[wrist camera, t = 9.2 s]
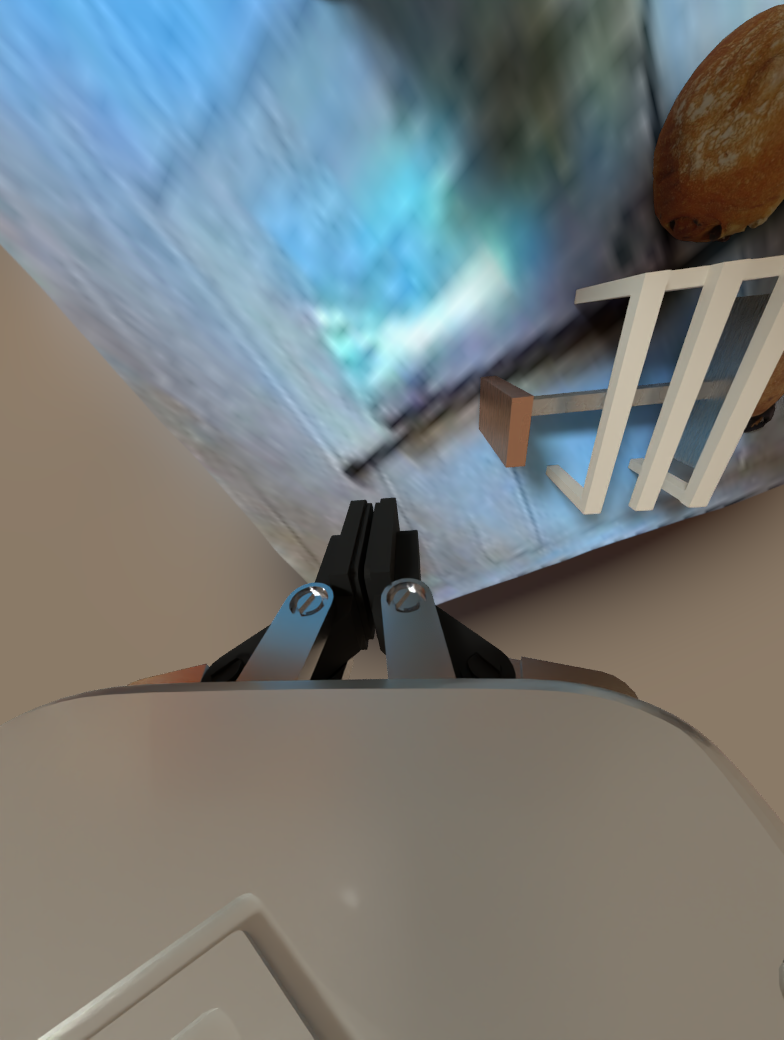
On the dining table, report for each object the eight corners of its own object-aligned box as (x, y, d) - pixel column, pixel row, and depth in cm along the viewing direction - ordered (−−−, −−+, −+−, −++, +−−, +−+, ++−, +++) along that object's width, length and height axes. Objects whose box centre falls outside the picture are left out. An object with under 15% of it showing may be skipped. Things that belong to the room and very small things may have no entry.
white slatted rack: (576, 289, 26) (645, 272, 18) (705, 272, 25) (835, 246, 17) (545, 473, 35) (583, 514, 27) (639, 466, 34) (706, 506, 26)
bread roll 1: (774, 93, 22) (963, -120, 14) (773, 244, 23) (950, 123, 15) (627, 131, 24) (727, -46, 16) (633, 273, 25) (730, 174, 17)
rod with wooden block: (482, 328, 27) (518, 328, 18) (724, 298, 26) (897, 281, 16) (477, 464, 34) (501, 512, 25) (667, 448, 32) (768, 494, 23)
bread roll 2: (693, 331, 28) (729, 331, 24) (805, 305, 26) (858, 301, 23) (667, 444, 33) (694, 455, 30) (759, 427, 32) (797, 437, 28)
